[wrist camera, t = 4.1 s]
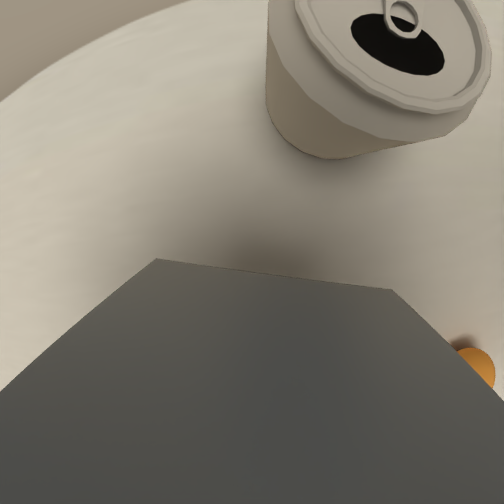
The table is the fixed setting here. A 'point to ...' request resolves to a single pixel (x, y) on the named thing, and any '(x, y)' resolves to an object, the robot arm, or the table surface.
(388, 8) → the can
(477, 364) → the ball
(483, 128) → the table surface
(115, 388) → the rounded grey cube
